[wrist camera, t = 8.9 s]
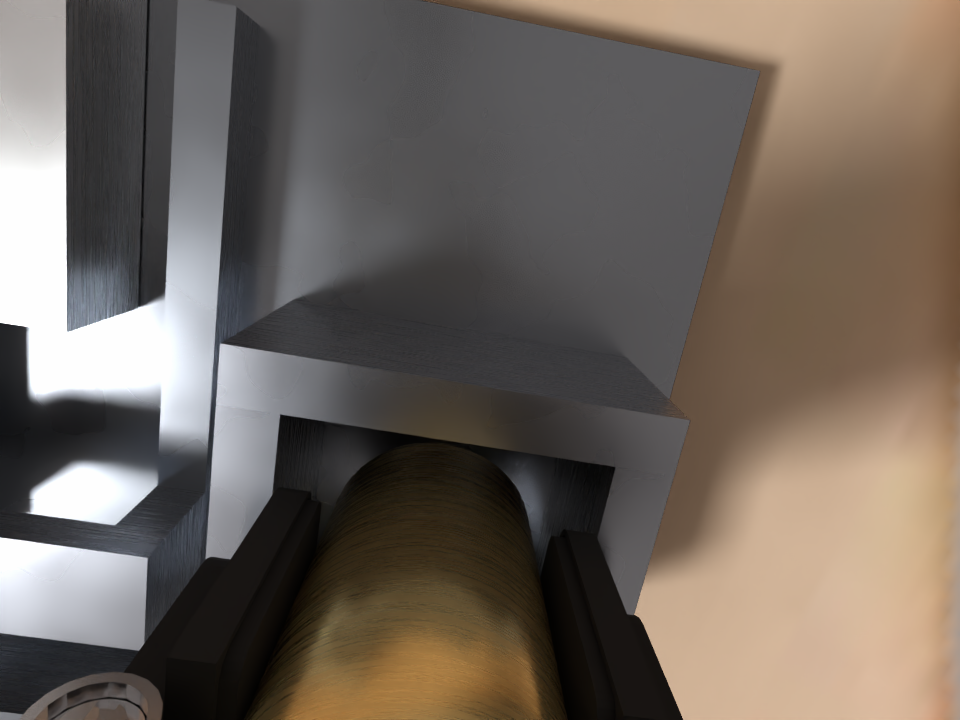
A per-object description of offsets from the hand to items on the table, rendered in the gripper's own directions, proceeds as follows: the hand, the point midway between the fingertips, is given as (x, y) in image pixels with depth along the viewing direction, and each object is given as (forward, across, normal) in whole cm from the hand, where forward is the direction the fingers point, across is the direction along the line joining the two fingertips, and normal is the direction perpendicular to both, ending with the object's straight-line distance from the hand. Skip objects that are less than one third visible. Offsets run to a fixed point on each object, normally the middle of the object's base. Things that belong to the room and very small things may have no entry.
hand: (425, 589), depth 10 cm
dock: (+5, +3, -2) cm, 6 cm away
